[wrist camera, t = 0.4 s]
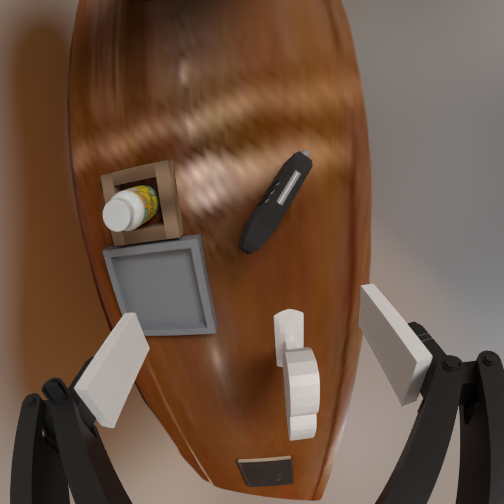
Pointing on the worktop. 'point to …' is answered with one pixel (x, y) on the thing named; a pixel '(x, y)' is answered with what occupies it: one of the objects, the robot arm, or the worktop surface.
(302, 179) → the gun
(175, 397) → the worktop surface
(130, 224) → the supplement bottle
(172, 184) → the socket block
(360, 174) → the worktop surface
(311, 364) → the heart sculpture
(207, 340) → the worktop surface
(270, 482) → the hardcover book
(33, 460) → the robot arm
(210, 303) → the tray
